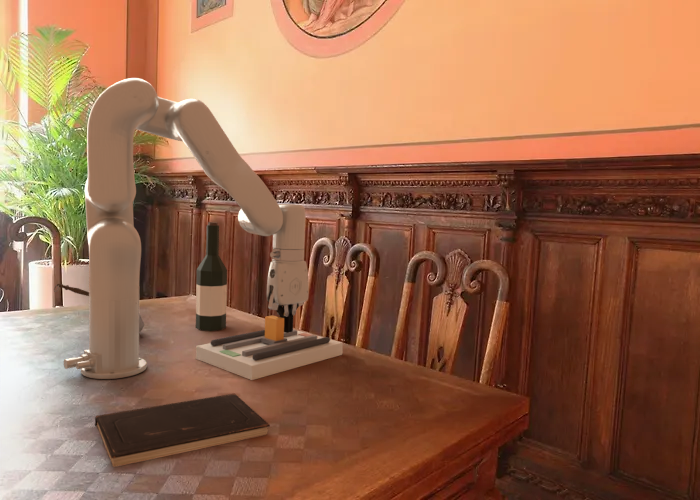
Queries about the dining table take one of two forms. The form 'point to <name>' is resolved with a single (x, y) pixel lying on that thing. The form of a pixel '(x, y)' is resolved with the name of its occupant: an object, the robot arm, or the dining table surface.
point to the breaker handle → (274, 330)
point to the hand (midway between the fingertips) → (285, 331)
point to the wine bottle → (211, 285)
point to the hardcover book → (177, 428)
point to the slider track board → (241, 352)
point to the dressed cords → (270, 352)
